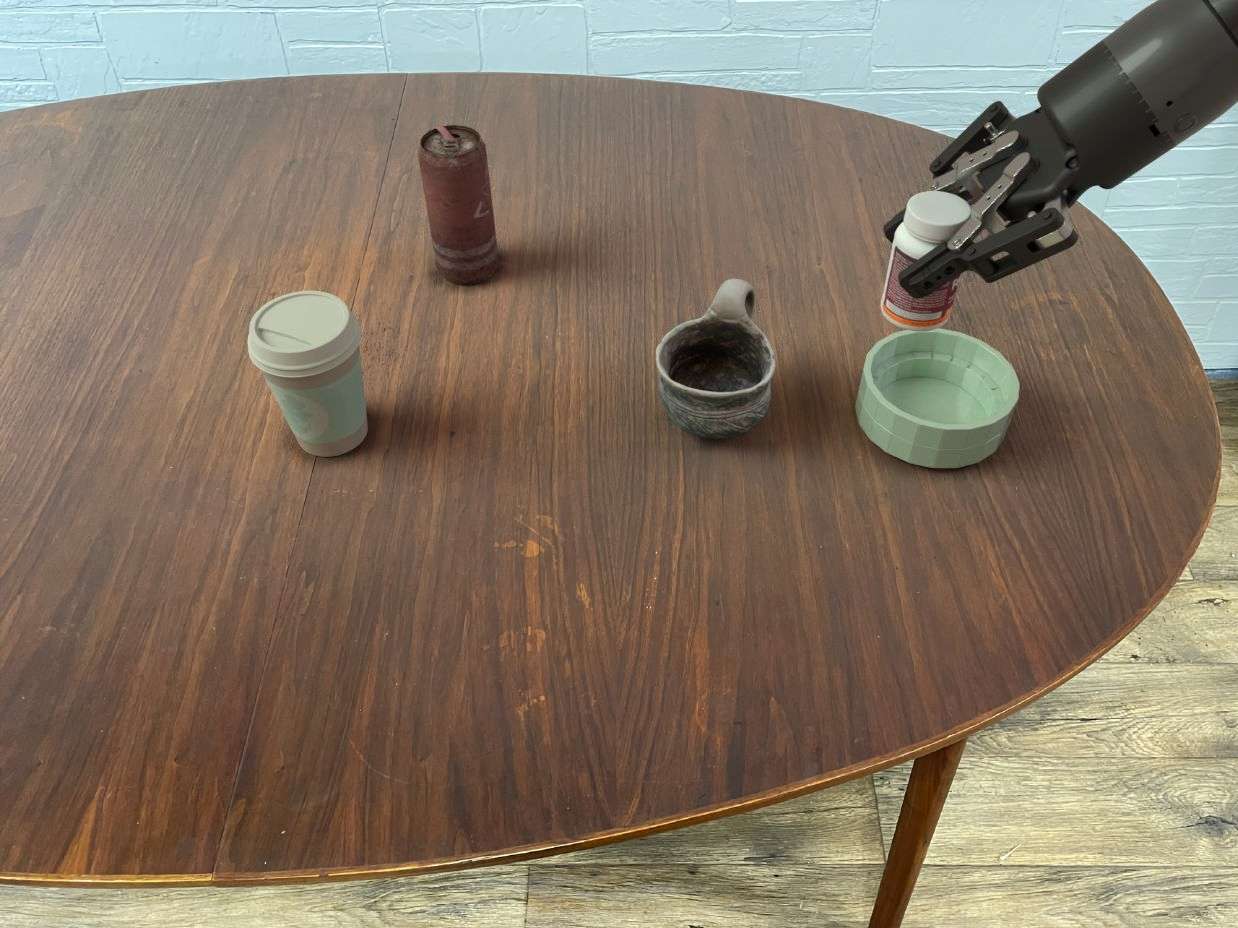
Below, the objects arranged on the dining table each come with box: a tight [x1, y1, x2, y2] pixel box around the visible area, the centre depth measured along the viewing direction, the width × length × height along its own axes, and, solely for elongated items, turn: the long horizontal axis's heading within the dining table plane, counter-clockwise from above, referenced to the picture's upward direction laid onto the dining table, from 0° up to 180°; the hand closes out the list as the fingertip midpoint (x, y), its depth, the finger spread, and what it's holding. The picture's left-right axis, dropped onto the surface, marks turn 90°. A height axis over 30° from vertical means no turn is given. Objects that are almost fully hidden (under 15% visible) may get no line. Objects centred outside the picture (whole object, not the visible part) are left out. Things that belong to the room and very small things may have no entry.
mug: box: [655, 278, 776, 440], centre depth 85 cm, size 10×12×10 cm
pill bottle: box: [880, 190, 972, 331], centre depth 69 cm, size 5×5×8 cm
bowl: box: [854, 327, 1021, 469], centre depth 86 cm, size 12×12×5 cm
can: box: [417, 124, 500, 286], centre depth 98 cm, size 6×6×14 cm
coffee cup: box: [247, 290, 369, 458], centre depth 83 cm, size 9×8×12 cm
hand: (899, 263), depth 69 cm, fingers closed on pill bottle, 4 cm apart
